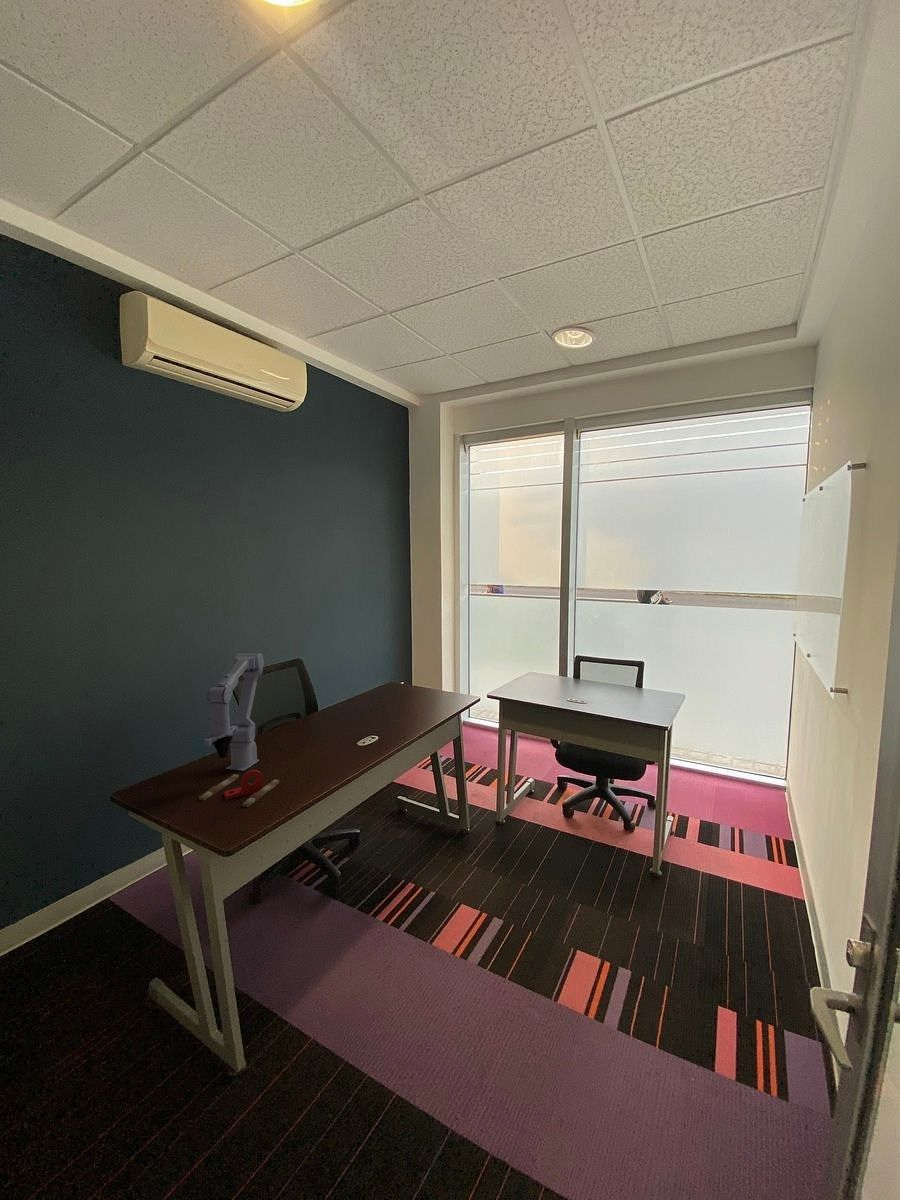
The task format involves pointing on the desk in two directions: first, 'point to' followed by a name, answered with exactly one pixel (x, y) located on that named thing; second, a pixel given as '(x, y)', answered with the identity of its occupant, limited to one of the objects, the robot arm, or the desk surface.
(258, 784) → the bracket
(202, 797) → the guide track
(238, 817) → the desk surface
